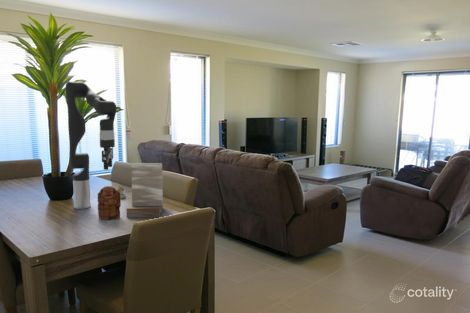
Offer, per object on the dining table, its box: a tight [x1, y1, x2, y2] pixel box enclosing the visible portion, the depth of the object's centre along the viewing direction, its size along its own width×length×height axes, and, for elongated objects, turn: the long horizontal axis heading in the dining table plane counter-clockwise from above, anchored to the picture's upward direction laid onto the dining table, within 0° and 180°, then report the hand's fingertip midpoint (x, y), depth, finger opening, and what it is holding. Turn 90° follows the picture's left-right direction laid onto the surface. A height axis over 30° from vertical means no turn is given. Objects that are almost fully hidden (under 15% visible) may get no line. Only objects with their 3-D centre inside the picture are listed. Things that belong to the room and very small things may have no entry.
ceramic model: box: [111, 182, 127, 200], centre depth 247 cm, size 14×11×10 cm
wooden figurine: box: [97, 185, 122, 221], centre depth 200 cm, size 12×6×18 cm, turn 113°
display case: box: [126, 162, 164, 218], centre depth 210 cm, size 18×18×28 cm
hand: (108, 168), depth 197 cm, fingers open, 8 cm apart
